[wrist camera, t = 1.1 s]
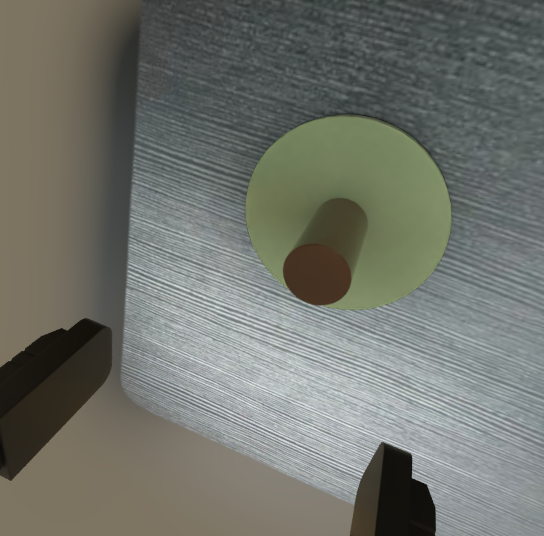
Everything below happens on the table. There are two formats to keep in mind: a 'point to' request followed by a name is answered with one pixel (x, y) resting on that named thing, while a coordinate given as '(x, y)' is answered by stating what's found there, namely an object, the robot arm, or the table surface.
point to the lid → (348, 212)
